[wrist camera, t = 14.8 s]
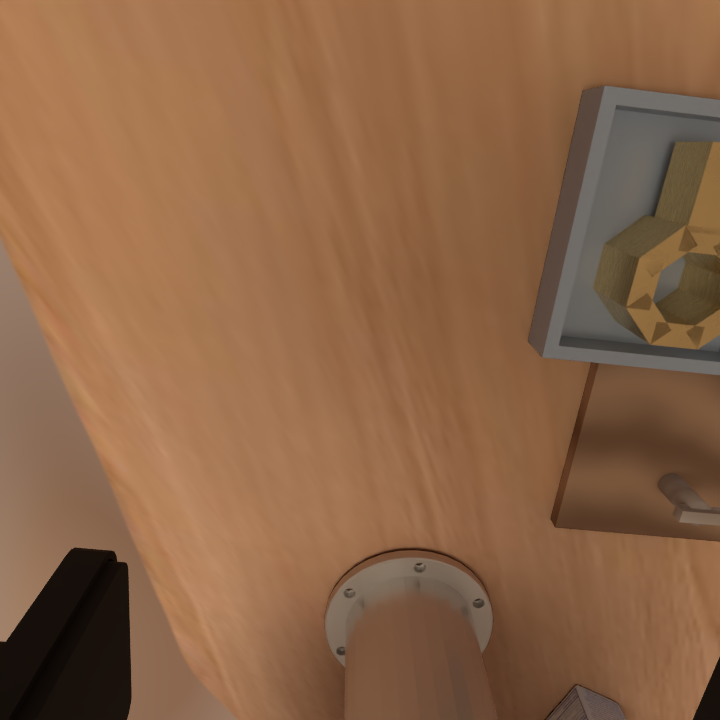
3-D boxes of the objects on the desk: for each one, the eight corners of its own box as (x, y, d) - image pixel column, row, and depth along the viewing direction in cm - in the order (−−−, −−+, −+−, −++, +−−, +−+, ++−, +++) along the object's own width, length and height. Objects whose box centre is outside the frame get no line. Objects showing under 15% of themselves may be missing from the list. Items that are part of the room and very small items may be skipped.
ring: (686, 328, 36) (730, 353, 32) (585, 317, 36) (616, 341, 32) (742, 151, 33) (800, 152, 28) (631, 137, 32) (672, 136, 28)
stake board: (712, 532, 42) (757, 581, 38) (550, 518, 42) (575, 566, 37) (773, 372, 38) (832, 403, 33) (593, 353, 38) (628, 384, 33)
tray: (719, 360, 38) (748, 378, 35) (527, 341, 37) (542, 357, 34) (801, 117, 33) (844, 115, 30) (582, 90, 32) (604, 85, 29)
